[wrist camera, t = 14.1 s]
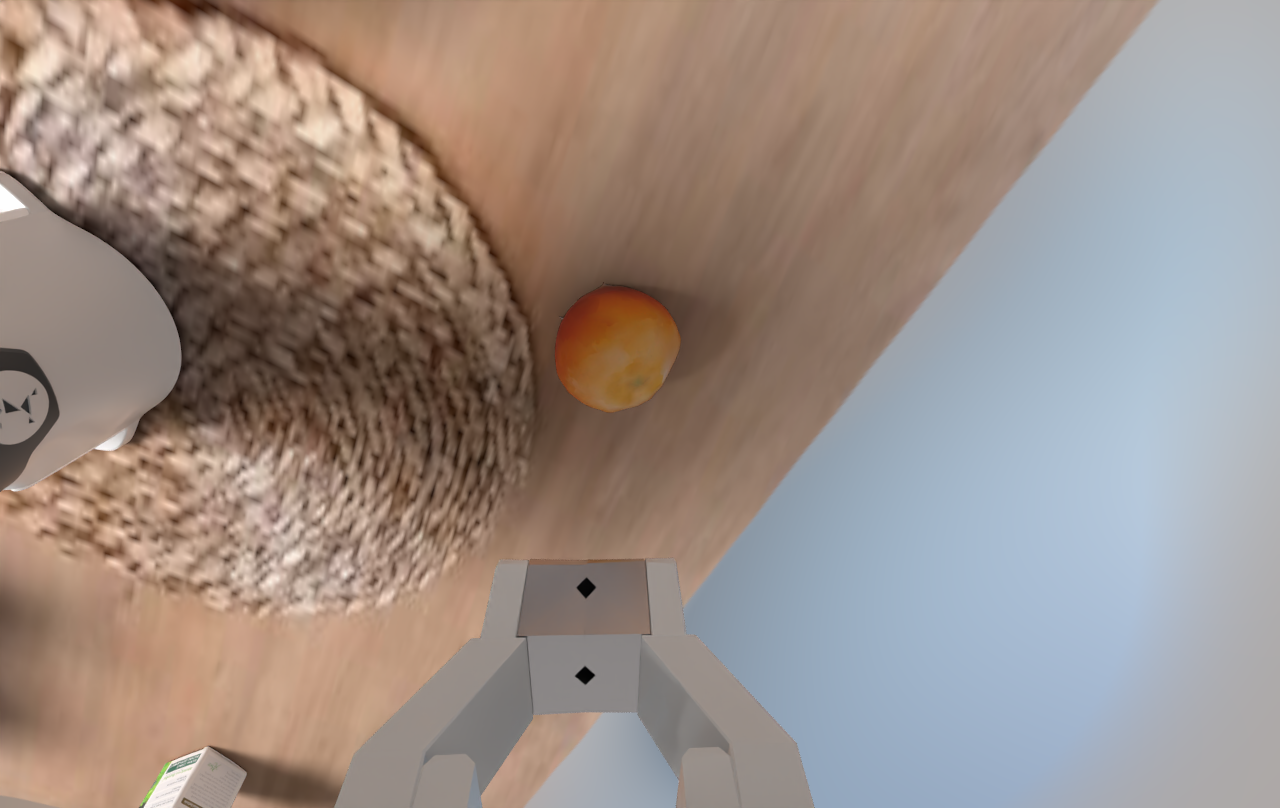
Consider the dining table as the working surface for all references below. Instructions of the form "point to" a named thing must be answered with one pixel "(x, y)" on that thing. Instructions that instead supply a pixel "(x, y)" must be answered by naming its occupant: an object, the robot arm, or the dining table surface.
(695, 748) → the robot arm
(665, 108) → the dining table surface
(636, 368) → the fruit
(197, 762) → the syrup box
